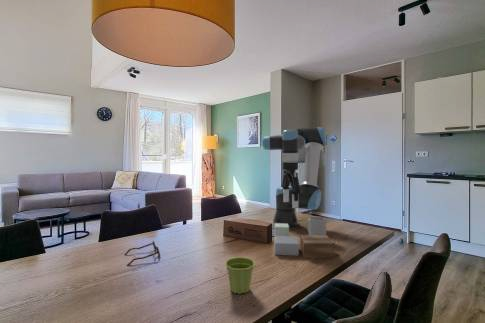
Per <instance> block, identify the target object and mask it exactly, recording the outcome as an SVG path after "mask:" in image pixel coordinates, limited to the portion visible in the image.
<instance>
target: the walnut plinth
mask: <svg viewBox="0 0 485 323" xmlns="http://www.w3.org/2000/svg"><path fill="white" fill-rule="evenodd" d="M299 235H300V237H299V240H300V241H299V246H300V250H301V254H302V256H303V258H305V259H306V258H308V259H309V258H310V259H334V242H333V241H332V240H331V239H330V237H329V236H328V235H327V234H326V235H309V234H299Z"/></svg>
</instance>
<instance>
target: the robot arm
mask: <svg viewBox="0 0 485 323" xmlns="http://www.w3.org/2000/svg"><path fill="white" fill-rule="evenodd" d="M326 132H327V131H326V129H325V128H324V127H322V126H320V127H319V126H317V127H300V128H296V129H285V130H282V133H281V134H277V135H272V136H271V135H267V136H264V137H263V138H262V148H263V149H264V150H265V151H266V150H267V151H276V150H277V151H279V150H280V151H282V154H281V157H282V170H283V176H282V182H281V187H280V186H279V187H277V188H276V190H275V214H274V216H273V220H272V222H273V223H272V224H273V225H275V223H283V224H288V225H289V228H290V227H297V226H298V224H299V220H298V217H297V214H296V209H301V210H309V211H310V210H318V208H319V207H320V205H321V200H322V191H321V190H320V188H319V186H318V175H319V168H320V157H321V156H320V155H321V151H322V150H323V149H324V146H326V145H327V142H328V139H327V133H326ZM304 148H305V152H306V153H305V160H304V167H303V174H302V182H301V184H300V180H299V172H296V171H297V170H299V163H298V161H299V150H302V149H304Z"/></svg>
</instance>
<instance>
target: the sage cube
mask: <svg viewBox="0 0 485 323" xmlns="http://www.w3.org/2000/svg"><path fill="white" fill-rule="evenodd" d="M274 236H290V227H289V225H288V224H283V223H275V224H274Z"/></svg>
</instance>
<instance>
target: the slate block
mask: <svg viewBox="0 0 485 323" xmlns="http://www.w3.org/2000/svg"><path fill="white" fill-rule="evenodd" d="M273 240H274V242H273V243H274V245H273V246H274V247H273V248H274V255H275V256H276V255H277V256H280V255H281V256H299V254H300V253H299V246H300V243H299V241H298V239H297V236H295V235H294V236H290V235H289V236H275V235H274V238H273Z"/></svg>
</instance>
